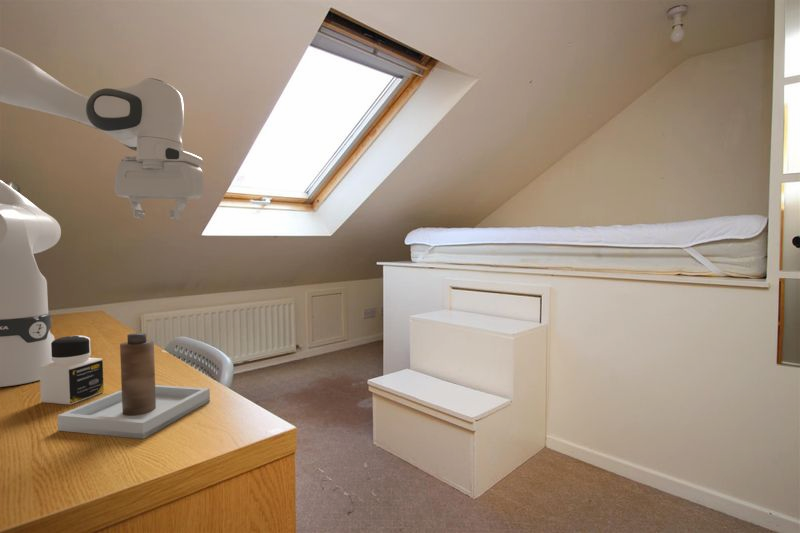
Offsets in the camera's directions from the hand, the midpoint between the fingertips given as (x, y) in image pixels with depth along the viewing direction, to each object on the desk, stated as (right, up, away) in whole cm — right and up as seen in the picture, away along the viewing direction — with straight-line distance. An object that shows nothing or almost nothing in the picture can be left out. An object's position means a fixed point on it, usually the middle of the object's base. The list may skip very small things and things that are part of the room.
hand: (157, 218), depth 93 cm
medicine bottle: (-11, -37, -10) cm, 40 cm away
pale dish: (+8, -37, -19) cm, 42 cm away
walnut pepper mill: (+8, -36, -19) cm, 41 cm away
